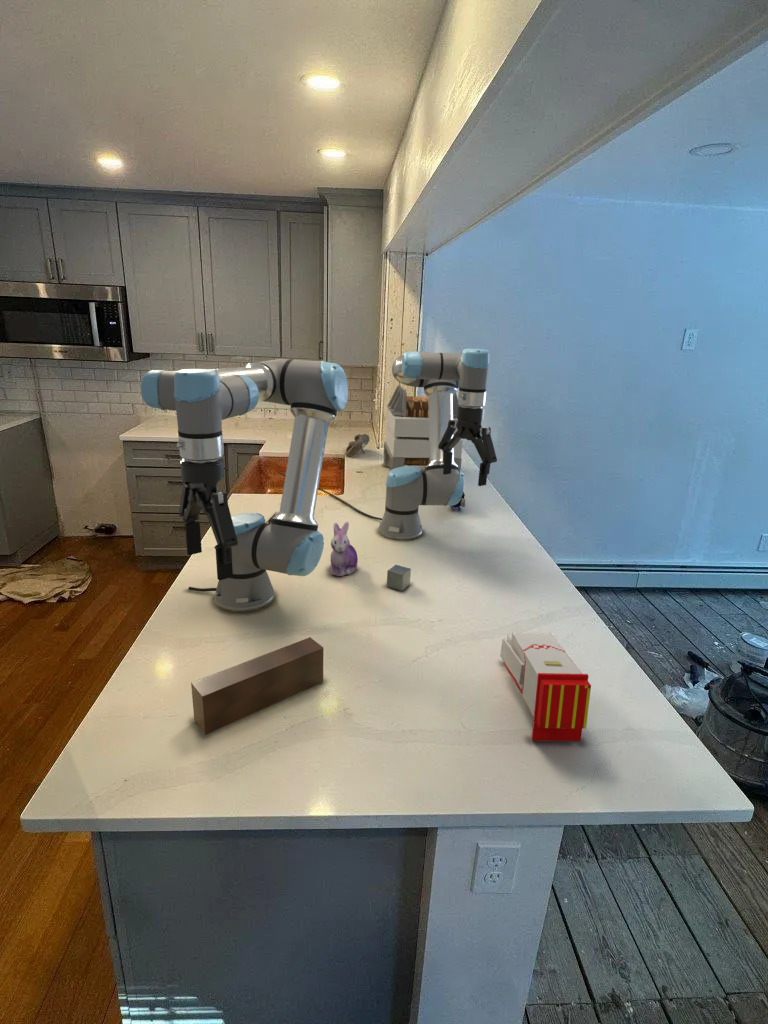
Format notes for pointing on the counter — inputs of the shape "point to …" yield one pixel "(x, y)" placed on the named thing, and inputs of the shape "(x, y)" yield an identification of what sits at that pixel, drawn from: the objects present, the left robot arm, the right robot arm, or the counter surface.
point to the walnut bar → (256, 684)
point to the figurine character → (461, 503)
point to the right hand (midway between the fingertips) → (464, 479)
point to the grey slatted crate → (411, 431)
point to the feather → (270, 519)
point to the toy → (548, 685)
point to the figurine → (342, 552)
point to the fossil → (357, 445)
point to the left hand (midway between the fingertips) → (209, 565)
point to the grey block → (398, 577)
